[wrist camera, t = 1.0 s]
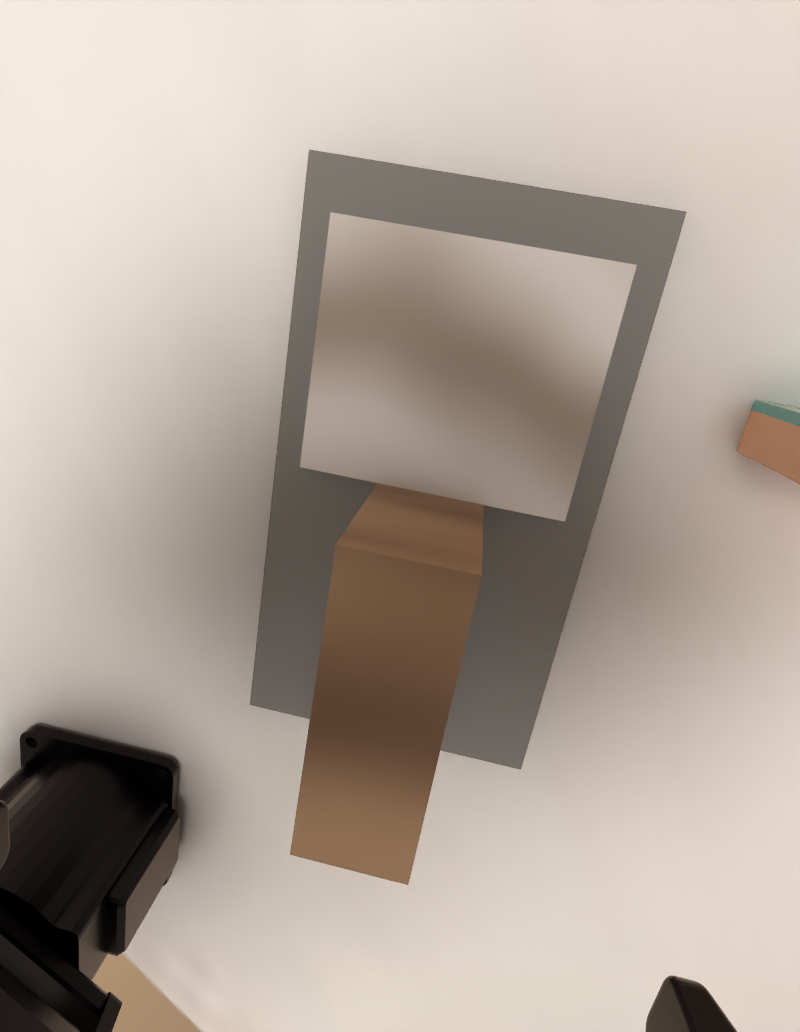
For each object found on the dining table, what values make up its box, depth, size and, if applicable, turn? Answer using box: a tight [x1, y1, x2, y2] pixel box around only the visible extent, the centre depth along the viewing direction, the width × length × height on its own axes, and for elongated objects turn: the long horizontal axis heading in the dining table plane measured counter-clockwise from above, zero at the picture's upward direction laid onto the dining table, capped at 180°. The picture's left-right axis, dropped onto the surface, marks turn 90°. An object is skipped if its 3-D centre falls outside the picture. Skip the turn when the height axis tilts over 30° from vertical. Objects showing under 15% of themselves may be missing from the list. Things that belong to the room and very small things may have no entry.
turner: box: [290, 212, 637, 885], centre depth 16 cm, size 16×8×6 cm, turn 170°
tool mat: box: [250, 150, 686, 769], centre depth 19 cm, size 10×18×1 cm, turn 170°
